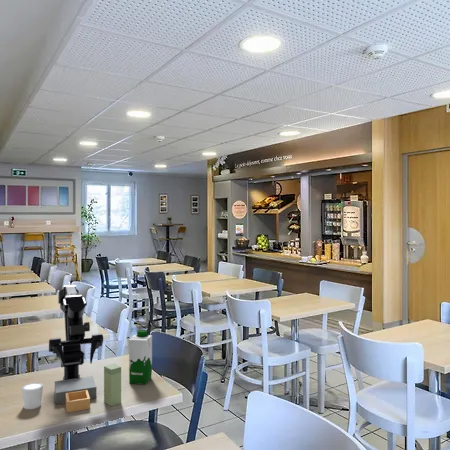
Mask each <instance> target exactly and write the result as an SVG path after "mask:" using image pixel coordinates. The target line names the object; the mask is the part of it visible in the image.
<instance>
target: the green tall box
mask: <svg viewBox="0 0 450 450" xmlns="http://www.w3.org/2000/svg"><path fill="white" fill-rule="evenodd" d="M103 403H105V404H106V405H109V406H111V407H113V406H116V405H119V404H121V403H122V366H120V365H118V364H116V363H111V364H107V365H104V366H103Z"/></svg>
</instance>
